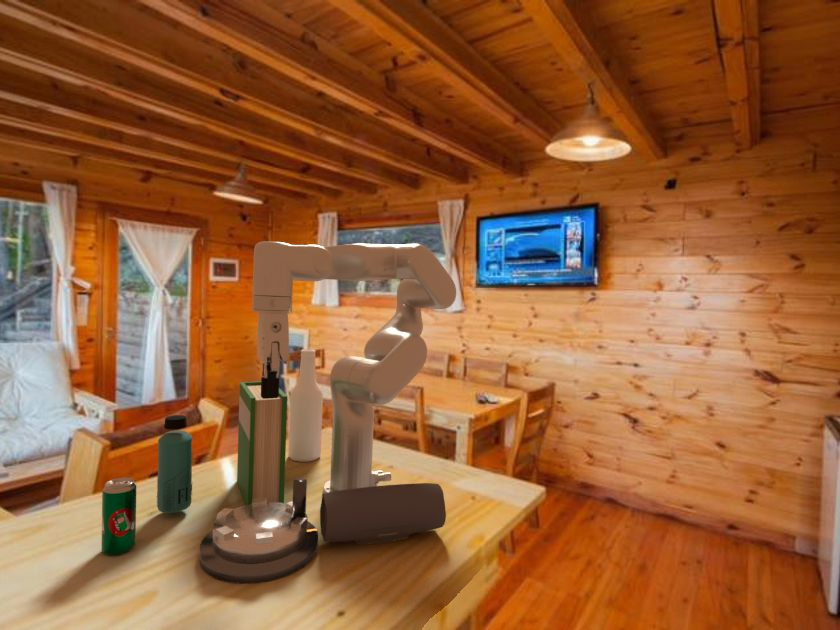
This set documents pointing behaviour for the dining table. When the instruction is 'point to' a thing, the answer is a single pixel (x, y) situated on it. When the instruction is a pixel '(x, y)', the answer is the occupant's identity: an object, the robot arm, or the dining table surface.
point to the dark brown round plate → (257, 571)
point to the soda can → (118, 516)
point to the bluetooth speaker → (381, 512)
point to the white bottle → (306, 412)
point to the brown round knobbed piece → (262, 528)
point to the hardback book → (261, 444)
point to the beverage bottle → (174, 467)
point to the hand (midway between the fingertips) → (269, 397)
